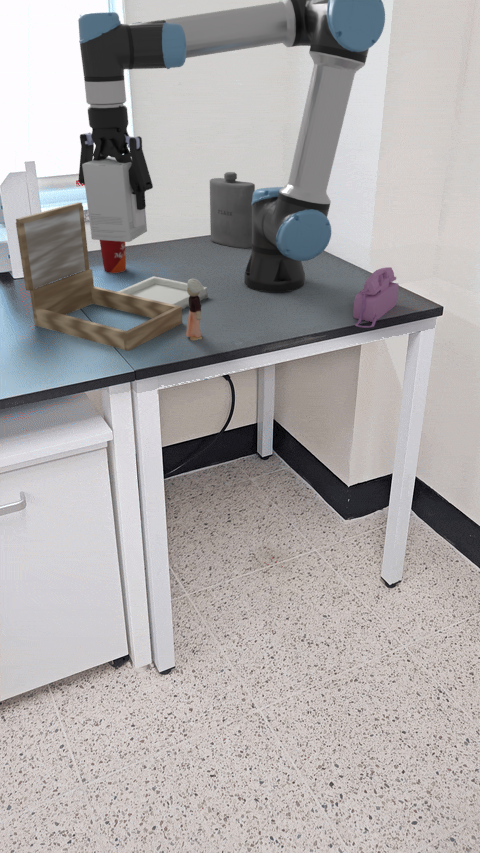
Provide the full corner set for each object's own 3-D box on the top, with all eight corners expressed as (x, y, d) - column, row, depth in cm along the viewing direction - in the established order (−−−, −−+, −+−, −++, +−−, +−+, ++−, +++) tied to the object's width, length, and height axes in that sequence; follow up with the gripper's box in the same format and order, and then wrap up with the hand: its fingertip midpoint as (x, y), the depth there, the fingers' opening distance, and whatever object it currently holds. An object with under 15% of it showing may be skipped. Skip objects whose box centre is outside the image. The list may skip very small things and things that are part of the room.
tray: (207, 297, 171) (207, 287, 170) (166, 318, 159) (166, 307, 158) (154, 286, 178) (153, 276, 177) (111, 304, 167) (110, 294, 165)
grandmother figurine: (180, 333, 151) (177, 274, 145) (197, 330, 153) (195, 272, 147) (193, 346, 145) (191, 286, 139) (210, 343, 147) (209, 283, 140)
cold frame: (182, 323, 156) (178, 218, 145) (128, 352, 143) (118, 238, 131) (89, 301, 169) (79, 202, 158) (31, 325, 155) (15, 219, 144)
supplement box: (148, 231, 153) (142, 157, 145) (130, 243, 145) (123, 165, 138) (110, 228, 155) (102, 155, 148) (90, 239, 148) (80, 163, 140)
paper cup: (127, 274, 186) (123, 219, 180) (97, 274, 187) (92, 219, 180) (131, 265, 193) (127, 212, 186) (103, 265, 193) (98, 212, 186)
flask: (205, 241, 214) (203, 171, 204) (217, 237, 218) (217, 168, 208) (245, 250, 206) (245, 177, 196) (257, 245, 210) (258, 174, 200)
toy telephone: (374, 301, 169) (379, 259, 164) (400, 306, 166) (405, 264, 161) (342, 325, 156) (346, 280, 151) (370, 331, 153) (374, 285, 148)
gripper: (166, 105, 135) (173, 224, 146) (76, 100, 146) (89, 212, 157) (141, 109, 130) (151, 233, 141) (49, 104, 140) (65, 220, 151)
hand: (118, 222), depth 149 cm, fingers closed on supplement box, 10 cm apart
